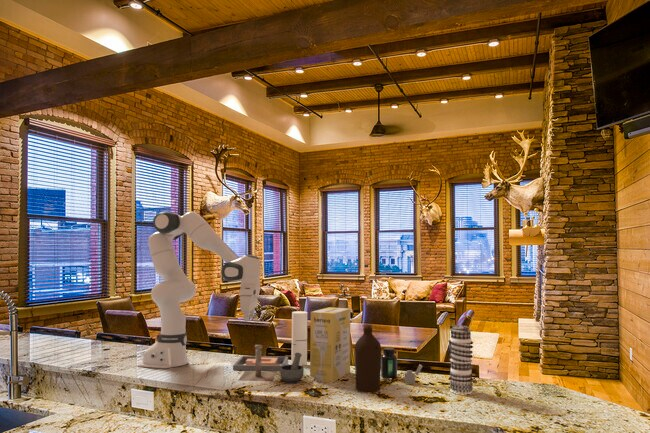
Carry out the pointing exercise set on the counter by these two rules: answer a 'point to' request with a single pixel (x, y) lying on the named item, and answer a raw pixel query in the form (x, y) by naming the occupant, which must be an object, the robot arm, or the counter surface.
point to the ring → (263, 361)
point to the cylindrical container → (299, 336)
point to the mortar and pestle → (292, 371)
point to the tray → (242, 360)
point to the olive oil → (367, 361)
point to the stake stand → (257, 370)
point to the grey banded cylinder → (460, 360)
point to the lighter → (411, 375)
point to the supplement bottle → (388, 363)
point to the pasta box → (330, 344)
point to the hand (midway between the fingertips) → (248, 319)
